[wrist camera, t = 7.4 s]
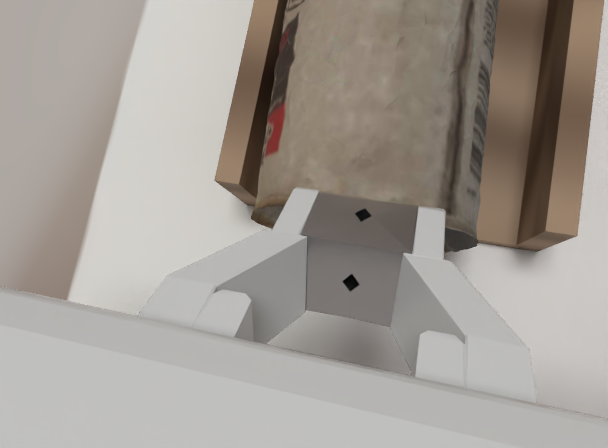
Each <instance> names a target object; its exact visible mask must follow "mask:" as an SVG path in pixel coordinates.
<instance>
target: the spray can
mask: <svg viewBox="0 0 608 448" xmlns="http://www.w3.org/2000/svg"><path fill="white" fill-rule="evenodd" d="M498 1H499V0H288V2H287V6H286V8H285V17H284V20H283V31H282V36H281V41H280V45H279V56H278V58H277V61H276V65H275V69H274V78H275V80H274V85H273V90H272V96H271V103H270V108H269V112H268V118H267V122H268V123H267V126H266V133H265V140H264V146H263V152H262V159H261V166H260V173H259V182H258V194H257V199H256V204H255V207H254V210H253V213H252V216H251V219H252V220H254V221H255V222H257V223H259V224H261V225H264V226H266V227H269V228H272V229H273V227H274V225H275V223H276V221H277V220H278V218H279V216H280V214H281V212H282V210H283V208H284V206H285V204H286V202H287V201H288V199H289V197H290V195H291V193H292V191H293V189H295V188H297V187H300V188H307V189H315V190H319V191H326V192H331V193H337V194H343V195H349V196H354V197H360V198H366V199H369V200H375V201H382V202H390V203H398V204H406V205H414V206H423V207H432V208H440V209H444V210H445V211H446V213H445V237H444V252H451V251H453V252H457V251H460V250H463V249H469V248H472V247H475V246H477V242H478V240H477V231H476V227H477V218H478V213H479V207H480V202H481V199H480V191H479V188H480V183H481V174H482V163H483V155H484V145H485V140H486V126H487V115H488V107H489V93H490V77H491V74H492V63H493V58H494V46H495V30H496V22H497V11H498Z"/></svg>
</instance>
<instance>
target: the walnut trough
mask: <svg viewBox="0 0 608 448" xmlns="http://www.w3.org/2000/svg"><path fill="white" fill-rule="evenodd" d="M287 2H288V0H254V4H253V9H252V13H251V18H250V22H249V27H248V31H247V36H246V40H245V45H244V49H243V54H242V58H241V63H240V67H239V72H238V76H237V81H236V85H235V90H234V94H233V99H232V103H231V108H230V113H229V117H228V122H227V126H226V131H225V135H224V140H223V144H222V149H221V153H220V158H219V162H218V167H217V171H216V176H215V180H214V181H216V182H217V183H219V184H220V185H221V186H223V187H224V188H225V189H227V190H228V191H229V192H231V193H232V194H233V195H235V196H236V197H237V198H239V199H240V200H241V201H243V202H244V203H245V204H247V205H252V206H255V204H256V199H257V194H258V182H259V173H260V166H261V159H262V152H263V146H264V140H265V133H266V126H267V123H268V122H267V118H268V112H269V108H270V103H271V96H272V90H273V85H274V80H275V78H274V69H275V65H276V61H277V58H278V56H279V45H280V41H281V36H282V31H283V20H284V17H285V8H286V6H287ZM603 6H604V0H499V1H498V11H497V22H496V30H495V46H494V58H493V63H492V74H491V77H490V93H489V107H488V115H487V126H486V140H485V145H484V155H483V163H482V174H481V183H480V188H479V191H480V199H481V202H480V207H479V213H478V218H477V227H476V231H477V240H478V242H482V243H488V244H495V245H501V246H507V247H513V248H519V249H526V250H532V251H540V250H542V249H545V248H548V247H550V246H553V245H555V244H558V243H560V242H563V241H565V240H568V239H571V238H573V237H576V236H577V234H578V225H579V216H580V207H581V199H582V190H583V181H584V172H585V164H586V155H587V146H588V137H589V129H590V120H591V111H592V102H593V94H594V85H595V76H596V67H597V58H598V50H599V41H600V32H601V23H602V15H603Z"/></svg>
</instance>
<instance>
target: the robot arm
mask: <svg viewBox="0 0 608 448" xmlns="http://www.w3.org/2000/svg"><path fill="white" fill-rule="evenodd" d="M445 213H446V211H445V210H444V209H440V208H432V207H423V206H414V205H406V204H398V203H390V202H382V201H375V200H369V199H366V198H360V197H354V196H349V195H343V194H337V193H331V192H326V191H319V190H315V189H307V188H300V187H297V188H295V189H293V191H292V193H291V195H290V197H289V199H288V201H287V202H286V204H285V206H284V208H283V210H282V212H281V214H280V216H279V218H278V220H277V221H276V223H275V225H274V227H273V229H272V230H267V229H265V230H262V231H260V232H258V233H256V234H254V235H252V236H250V237H248V238H246V239H243V240H241V241H239V242H237V243H235V244H233V245H231V246H229V247H227V248H225V249H222V250H220V251H218V252H216V253H214V254H212V255H210V256H208V257H206V258H203V259H201V260H199V261H197V262H195V263H193V264H191V265H189V266H187V267H184V268H182V269H180V270H178V271H176V272H174V273H172V274H170V275H168V276H166V277H165V279H164V280H163V282H162V283H161V284H160V286H159V287H158V288H157V290H156V291H155V293H154V294H153V295H152V297H151V298H150V299H149V301H148V302H147V304H146V305H145V306H144V308H143V309H142V310H141V312H140V313H139V315H138V316H134V315H130V314H125V313H120V312H116V311H111V310H107V309H102V308H98V307H93V306H88V305H84V304H79V303H75V302H70V301H66V300H61V299H56V298H52V297H47V296H43V295H38V294H34V293H29V292H24V291H20V290H15V289H11V288H6V287H2V286H0V448H608V419H605V418H601V417H596V416H592V415H587V414H582V413H578V412H573V411H569V410H564V409H560V408H555V407H551V406H546V405H541V404H537V400H536V393H535V386H534V378H533V371H532V364H531V357H530V350H529V348H528V347H527V346H526V345H525V343H524V342H523V341H522V340H521V339H520V338H519V337H518V336H517V334H516V333H515V332H514V331H513V330H512V329H511V328H510V327H509V325H508V324H507V323H506V322H505V321H504V320H503V319H502V318H501V317H500V315H499V314H498V313H497V312H496V311H495V310H494V309H493V308H492V306H491V305H490V304H489V303H488V302H487V301H486V300H485V299H484V297H483V296H482V295H481V294H480V293H479V292H478V291H477V290H476V288H475V287H474V286H473V285H472V284H471V283H470V282H469V281H468V280H467V278H466V277H465V276H464V275H463V274H462V273H461V272H460V271H459V269H458V268H457V267H456V266H455V265H454V264H453V263H452V262H451V261H448V260H444V237H445ZM305 310H309V311H315V312H321V313H326V314H332V315H338V316H344V317H349V318H353V319H358V320H362V321H366V322H371V323H375V324H380V325H384V326H388V327H390V330H391V332H392V334H393V336H394V338H395V340H396V342H397V344H398V346H399V348H400V350H401V352H402V354H403V356H404V358H405V360H406V362H407V364H408V366H409V368H410V370H411V375H410V376H409V375H405V374H400V373H396V372H391V371H386V370H382V369H377V368H373V367H368V366H363V365H359V364H354V363H350V362H345V361H340V360H336V359H331V358H327V357H322V356H317V355H313V354H308V353H303V352H299V351H294V350H290V349H285V348H280V347H276V346H271V345H267V344H266V343H267V342H269V341H270V340H271V339H272V338H274V337H275V336H276V335H277V334H279V333H280V332H281V331H282V330H284V329H285V328H286V327H287V326H289V325H290V324H291V323H292V322H294V321H295V320H296V319H297V318H299V317H300V316H301V315H302V314H303V313H305Z"/></svg>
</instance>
